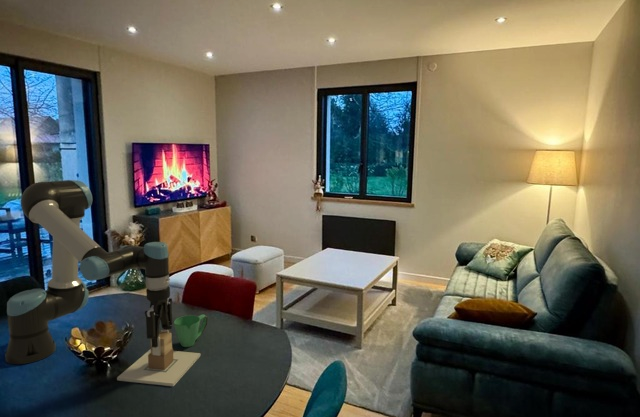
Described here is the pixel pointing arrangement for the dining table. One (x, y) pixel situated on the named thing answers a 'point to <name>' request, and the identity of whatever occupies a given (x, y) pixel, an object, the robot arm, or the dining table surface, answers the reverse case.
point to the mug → (189, 328)
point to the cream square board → (160, 368)
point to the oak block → (164, 342)
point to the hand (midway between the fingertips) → (161, 350)
